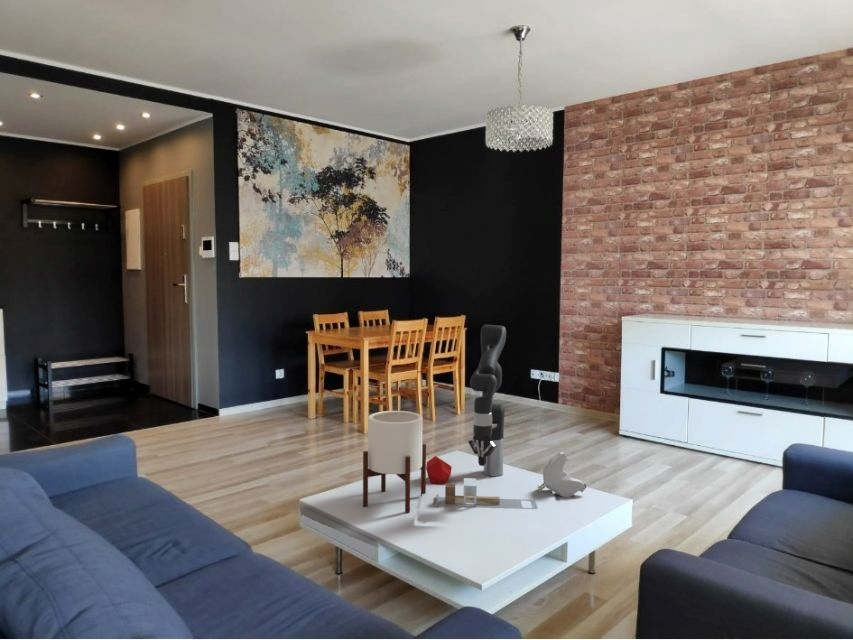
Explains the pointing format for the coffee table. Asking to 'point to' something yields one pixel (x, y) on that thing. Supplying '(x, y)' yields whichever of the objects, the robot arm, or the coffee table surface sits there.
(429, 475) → the apple
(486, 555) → the coffee table surface
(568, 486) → the grey crescent shape
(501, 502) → the grey pocketed tray
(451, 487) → the walnut block
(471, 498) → the beech dowel
